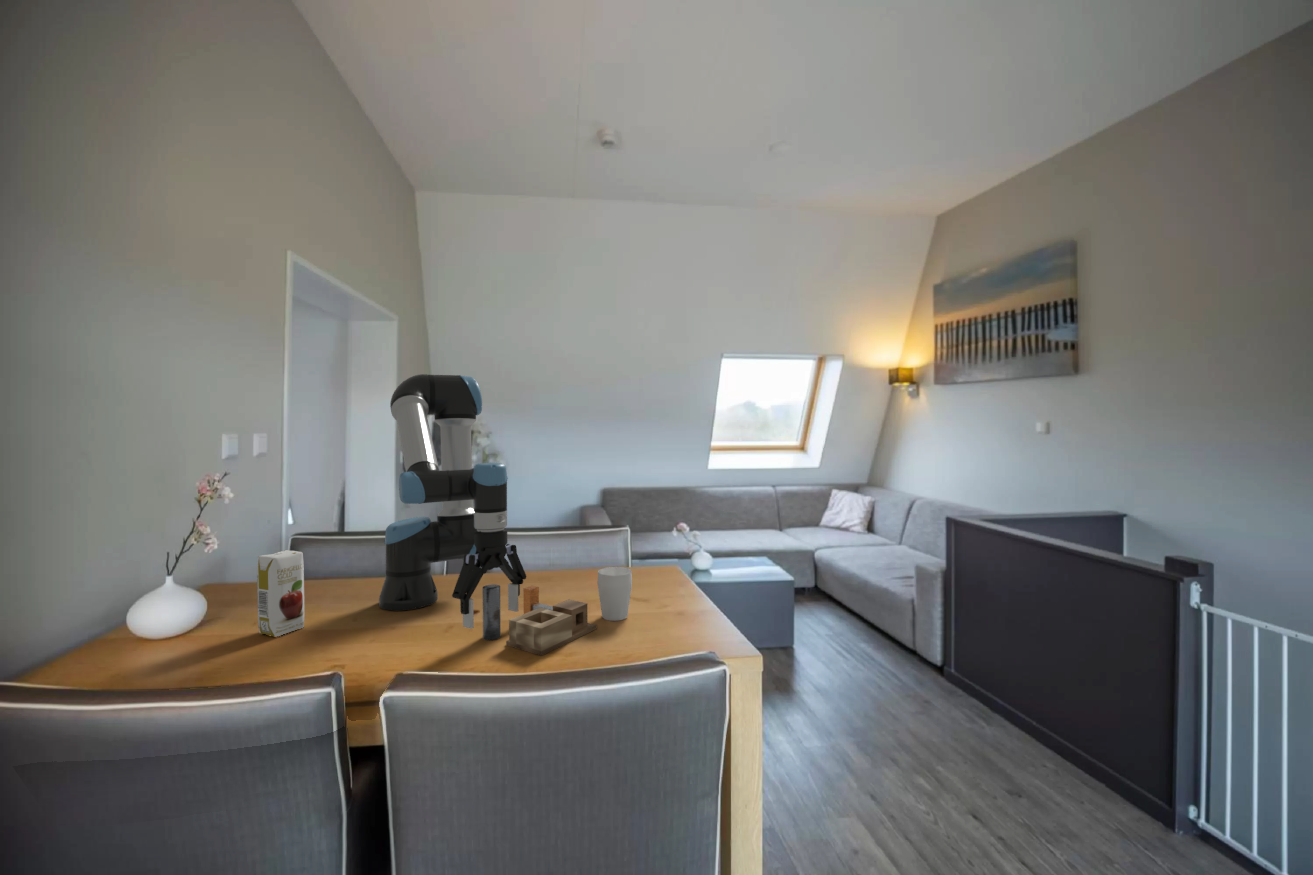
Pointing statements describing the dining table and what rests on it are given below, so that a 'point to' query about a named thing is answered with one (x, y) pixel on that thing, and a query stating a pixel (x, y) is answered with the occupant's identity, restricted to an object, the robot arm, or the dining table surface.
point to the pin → (533, 600)
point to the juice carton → (280, 592)
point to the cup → (614, 592)
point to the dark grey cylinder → (491, 612)
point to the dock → (576, 624)
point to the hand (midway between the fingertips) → (491, 618)
